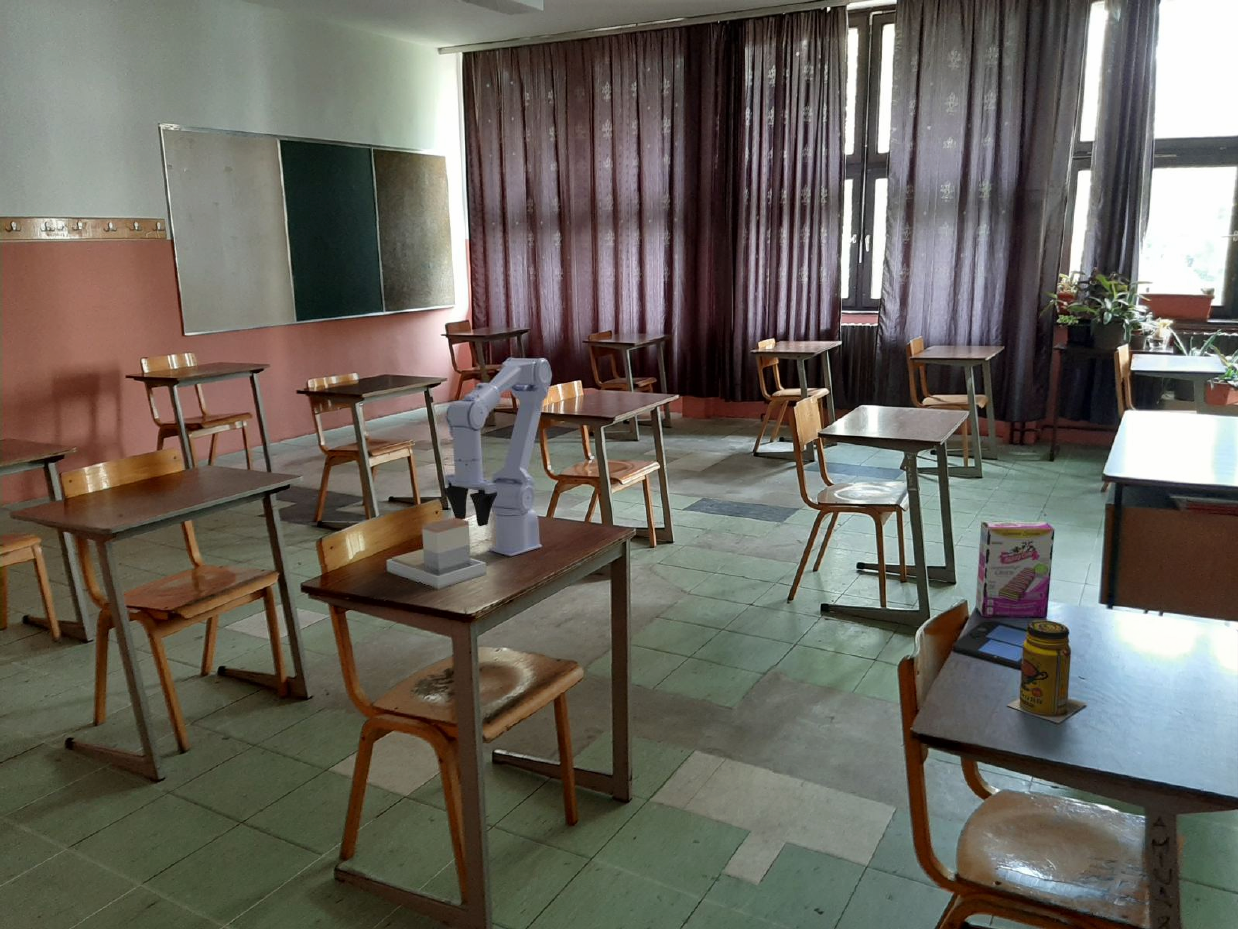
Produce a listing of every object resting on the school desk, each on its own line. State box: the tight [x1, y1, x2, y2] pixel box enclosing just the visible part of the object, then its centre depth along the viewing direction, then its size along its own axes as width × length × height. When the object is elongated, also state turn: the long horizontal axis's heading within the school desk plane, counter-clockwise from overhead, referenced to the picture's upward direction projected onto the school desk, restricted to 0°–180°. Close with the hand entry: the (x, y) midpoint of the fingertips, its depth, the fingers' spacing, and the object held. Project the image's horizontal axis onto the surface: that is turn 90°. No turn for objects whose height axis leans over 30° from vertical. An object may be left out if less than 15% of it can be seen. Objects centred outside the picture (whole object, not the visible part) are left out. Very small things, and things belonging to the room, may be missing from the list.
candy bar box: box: [975, 520, 1056, 618], centre depth 161 cm, size 11×5×16 cm, turn 84°
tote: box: [385, 548, 487, 590], centre depth 194 cm, size 12×18×3 cm
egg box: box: [421, 517, 471, 554], centre depth 190 cm, size 8×5×5 cm, turn 137°
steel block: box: [422, 545, 471, 576], centre depth 191 cm, size 8×5×6 cm, turn 137°
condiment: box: [1007, 619, 1088, 724], centre depth 128 cm, size 7×8×12 cm
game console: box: [951, 620, 1027, 671], centre depth 147 cm, size 14×13×2 cm
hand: (471, 522), depth 194 cm, fingers open, 7 cm apart
